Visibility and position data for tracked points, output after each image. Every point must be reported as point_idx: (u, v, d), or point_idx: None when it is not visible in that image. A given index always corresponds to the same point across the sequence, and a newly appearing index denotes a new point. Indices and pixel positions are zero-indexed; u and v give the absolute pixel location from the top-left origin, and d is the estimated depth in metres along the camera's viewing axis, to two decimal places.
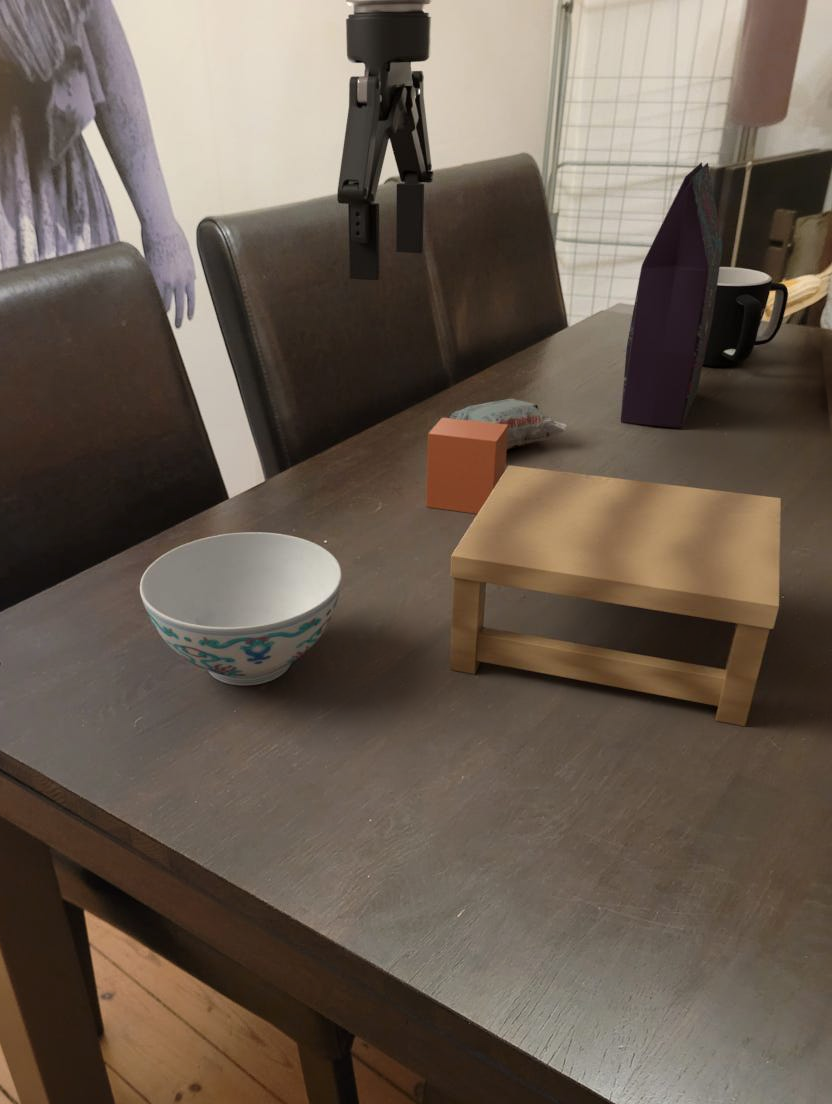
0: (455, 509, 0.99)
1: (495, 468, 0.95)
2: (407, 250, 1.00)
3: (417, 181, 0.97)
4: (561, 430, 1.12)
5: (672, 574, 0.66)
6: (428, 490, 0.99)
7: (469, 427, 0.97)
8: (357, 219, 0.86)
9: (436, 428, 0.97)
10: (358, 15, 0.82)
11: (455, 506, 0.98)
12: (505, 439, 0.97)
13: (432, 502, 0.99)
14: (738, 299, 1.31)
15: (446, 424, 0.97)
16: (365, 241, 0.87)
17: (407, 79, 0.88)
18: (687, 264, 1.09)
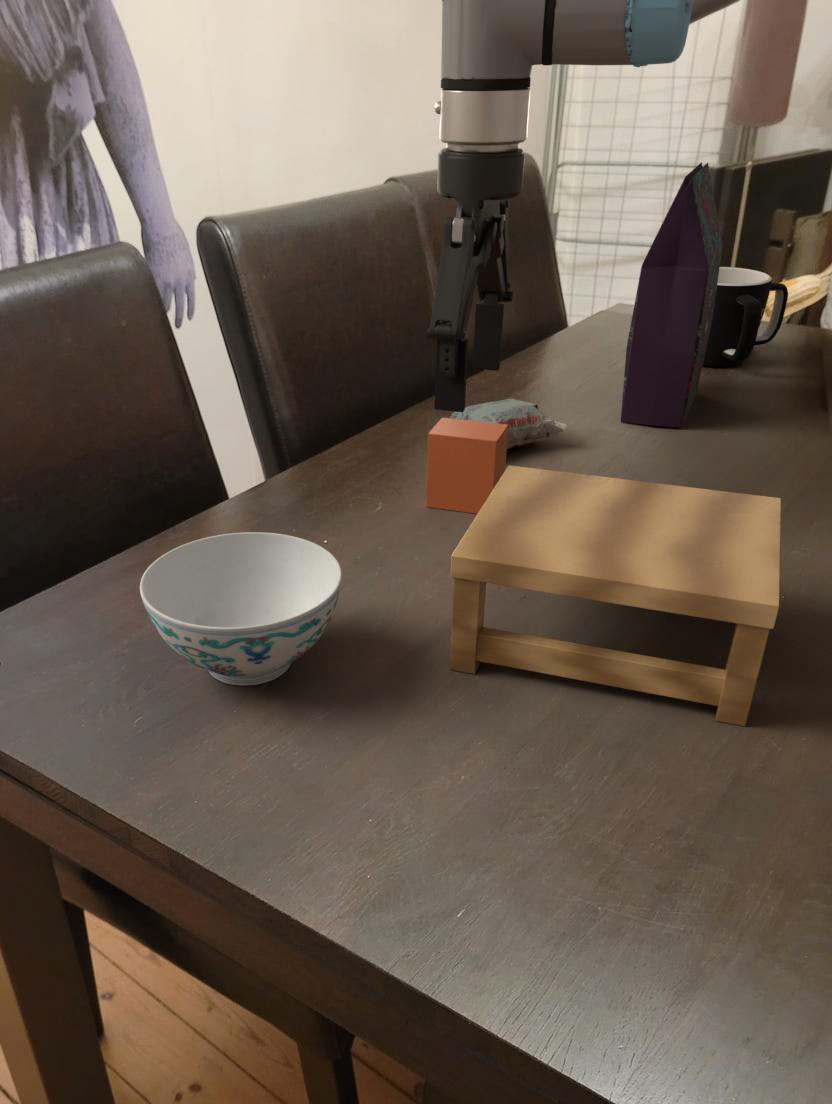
0: (455, 509, 0.99)
1: (495, 468, 0.95)
2: (484, 367, 0.99)
3: (497, 301, 0.96)
4: (561, 430, 1.12)
5: (672, 574, 0.66)
6: (428, 490, 0.99)
7: (469, 427, 0.97)
8: (446, 355, 0.85)
9: (436, 428, 0.97)
10: (453, 154, 0.81)
11: (455, 506, 0.98)
12: (505, 439, 0.97)
13: (432, 502, 0.99)
14: (738, 299, 1.31)
15: (446, 424, 0.97)
16: (453, 376, 0.86)
17: (496, 209, 0.87)
18: (687, 264, 1.09)
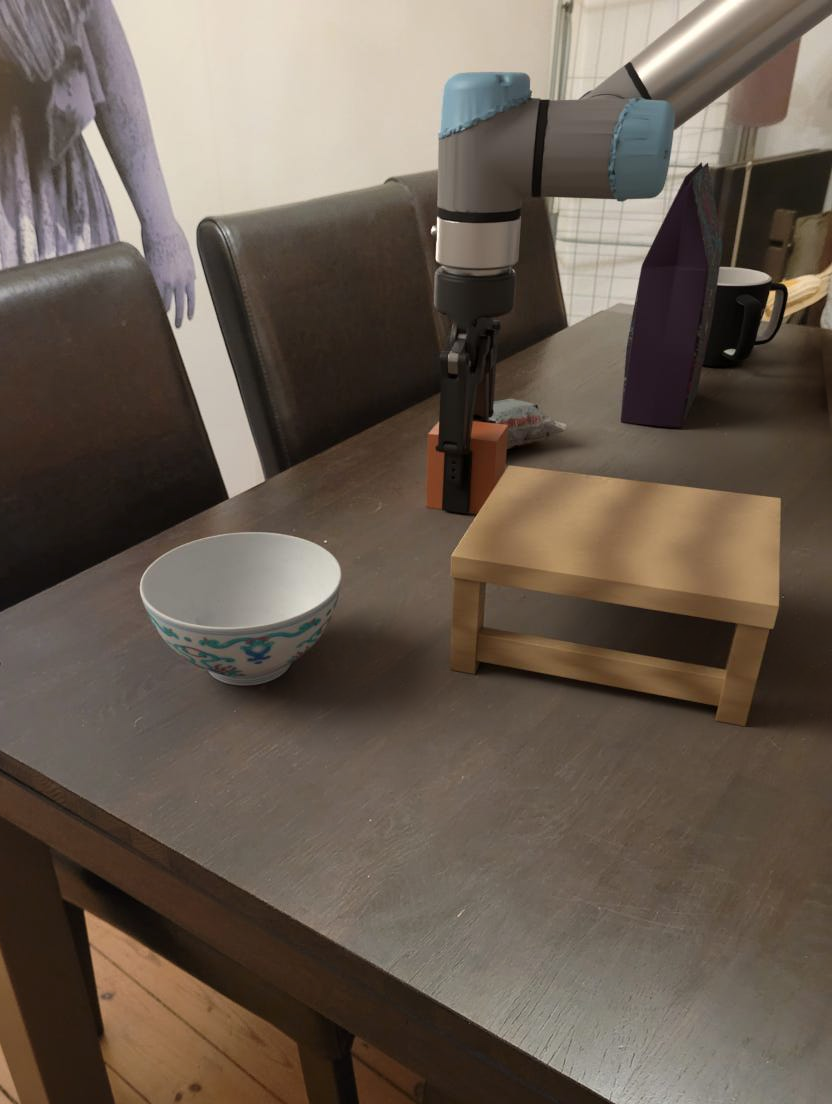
0: None
1: (495, 468, 0.95)
2: None
3: None
4: (561, 430, 1.12)
5: (672, 574, 0.66)
6: (428, 490, 0.99)
7: None
8: (453, 466, 0.94)
9: (436, 428, 0.97)
10: (448, 276, 0.86)
11: None
12: (505, 439, 0.97)
13: (432, 502, 0.99)
14: (738, 299, 1.31)
15: None
16: (459, 484, 0.95)
17: (489, 320, 0.92)
18: (687, 264, 1.09)
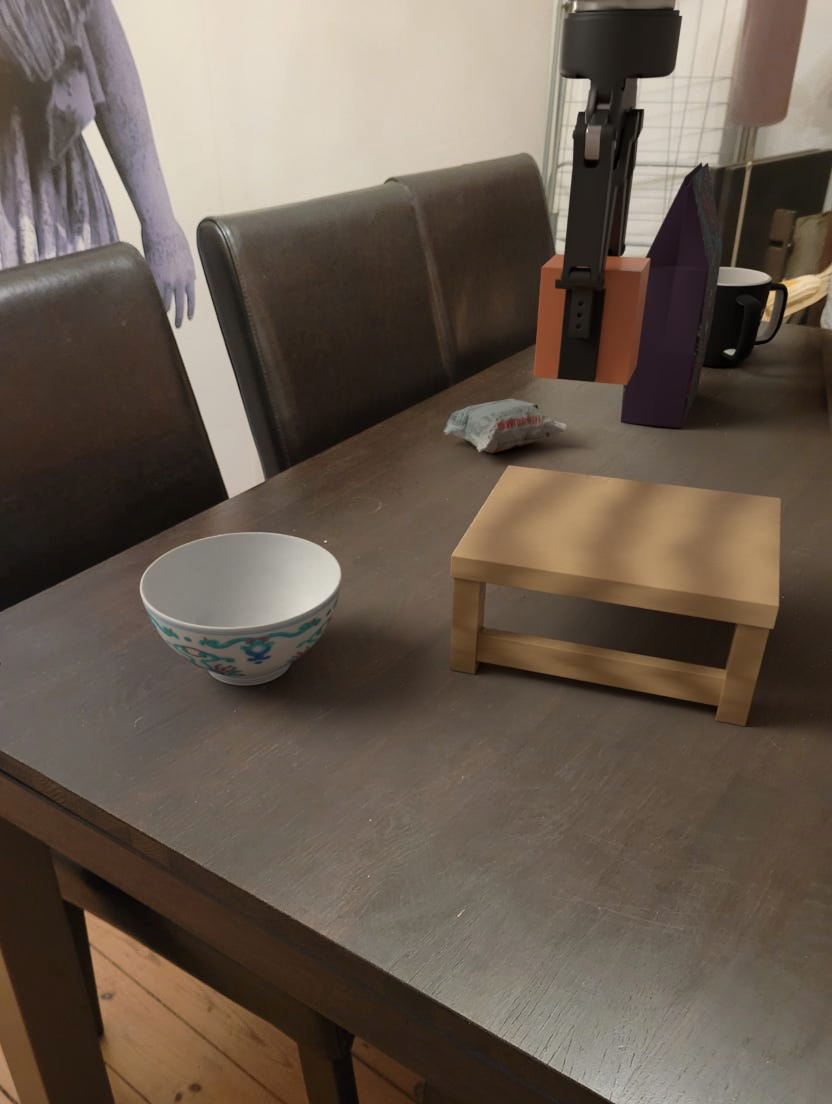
0: None
1: (636, 314, 0.68)
2: None
3: None
4: (561, 430, 1.12)
5: (672, 574, 0.66)
6: (538, 352, 0.72)
7: None
8: (579, 309, 0.67)
9: (551, 262, 0.70)
10: (587, 14, 0.60)
11: None
12: (646, 278, 0.70)
13: (542, 369, 0.72)
14: (738, 299, 1.31)
15: (563, 259, 0.71)
16: (587, 336, 0.68)
17: (634, 99, 0.66)
18: (687, 264, 1.09)
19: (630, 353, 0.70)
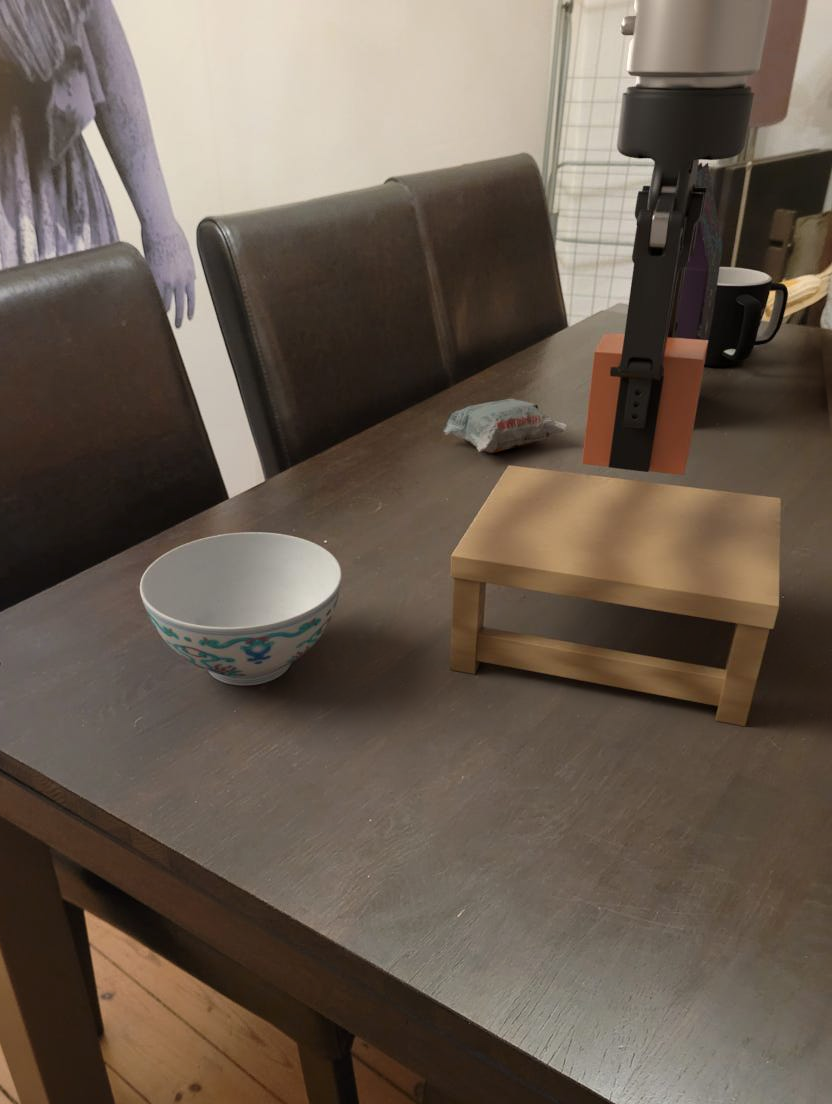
0: None
1: (696, 402, 0.64)
2: None
3: None
4: (561, 430, 1.12)
5: (672, 574, 0.66)
6: (587, 439, 0.67)
7: None
8: (636, 399, 0.63)
9: (603, 345, 0.65)
10: (653, 92, 0.55)
11: None
12: (704, 362, 0.66)
13: (592, 457, 0.68)
14: (738, 299, 1.31)
15: (615, 341, 0.66)
16: (643, 426, 0.64)
17: (695, 176, 0.61)
18: None
19: (688, 443, 0.65)
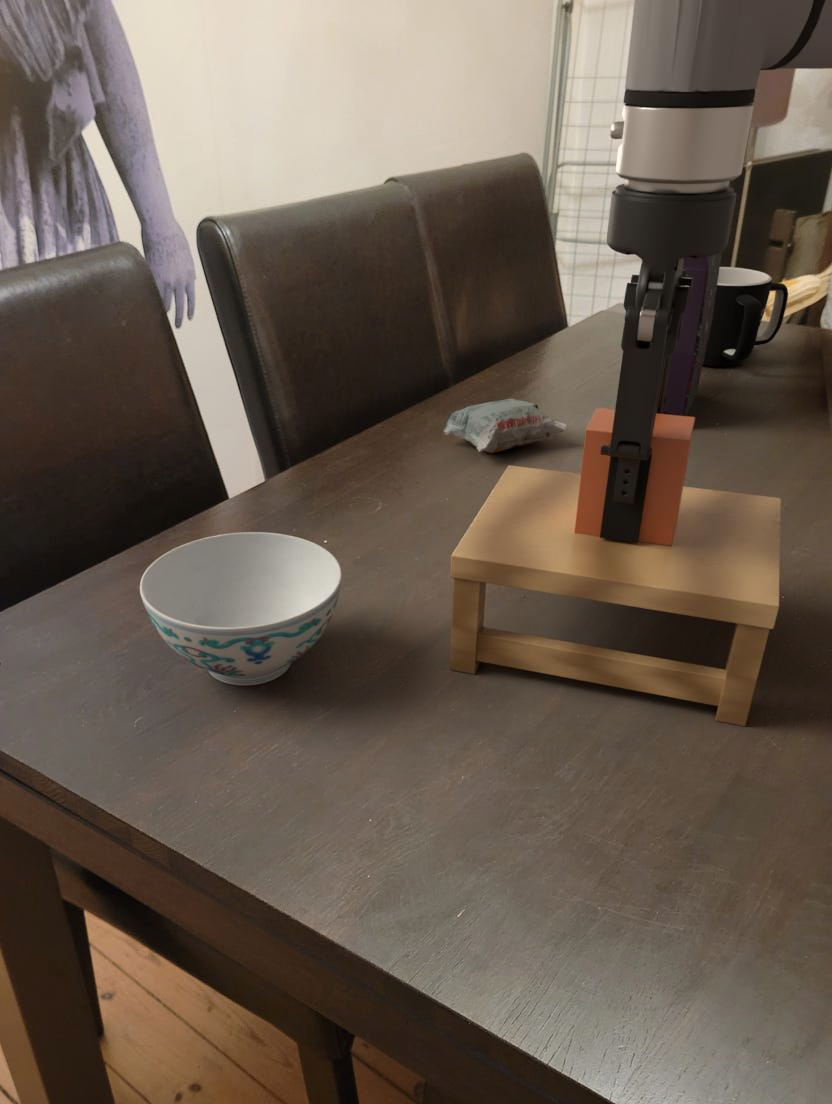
0: None
1: (683, 479, 0.67)
2: None
3: None
4: (561, 430, 1.12)
5: (672, 574, 0.66)
6: (579, 509, 0.70)
7: None
8: (625, 476, 0.66)
9: (595, 422, 0.68)
10: (640, 195, 0.58)
11: None
12: (691, 438, 0.69)
13: (584, 526, 0.71)
14: (738, 299, 1.31)
15: (606, 417, 0.69)
16: (632, 502, 0.67)
17: (682, 266, 0.64)
18: (687, 264, 1.09)
19: (675, 516, 0.68)
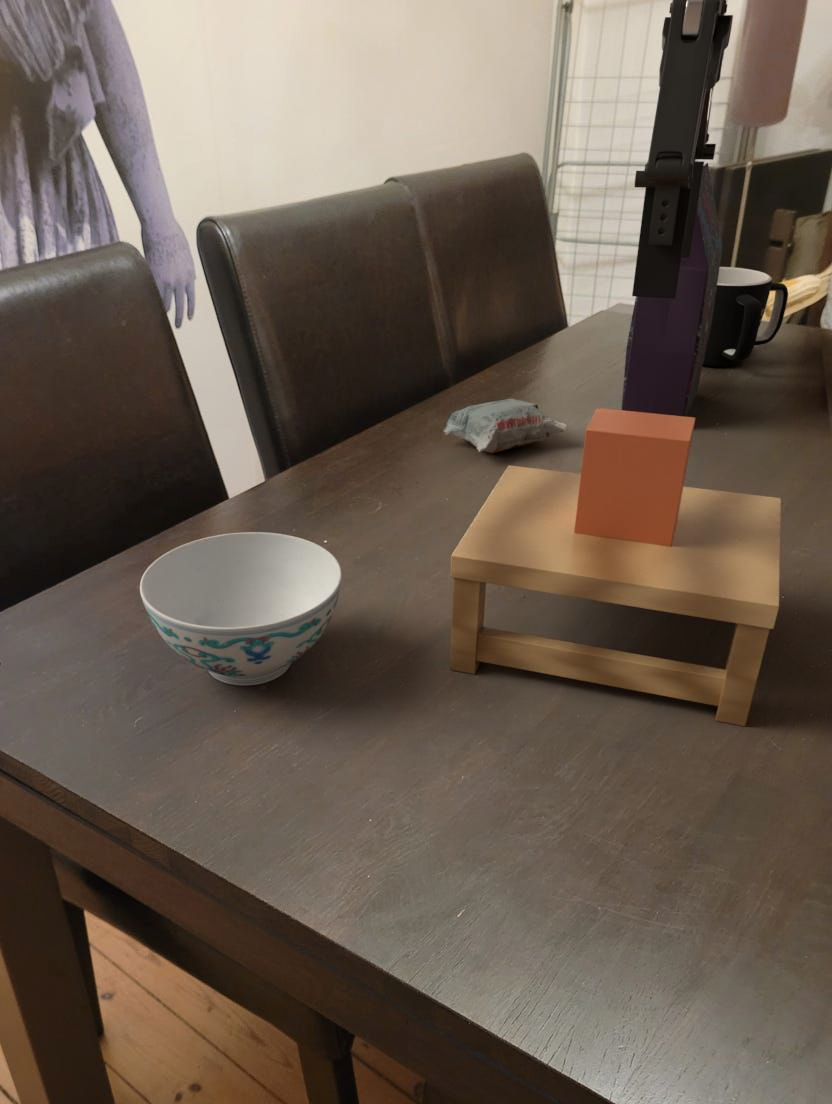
0: (617, 536, 0.70)
1: (682, 479, 0.67)
2: None
3: (694, 158, 0.70)
4: (561, 430, 1.12)
5: (672, 574, 0.66)
6: (579, 510, 0.70)
7: (641, 421, 0.68)
8: (663, 210, 0.59)
9: (595, 422, 0.68)
10: None
11: (617, 532, 0.70)
12: (691, 438, 0.69)
13: (583, 526, 0.71)
14: (738, 299, 1.31)
15: (606, 417, 0.69)
16: (670, 242, 0.59)
17: (720, 6, 0.61)
18: (687, 264, 1.09)
19: (675, 517, 0.68)
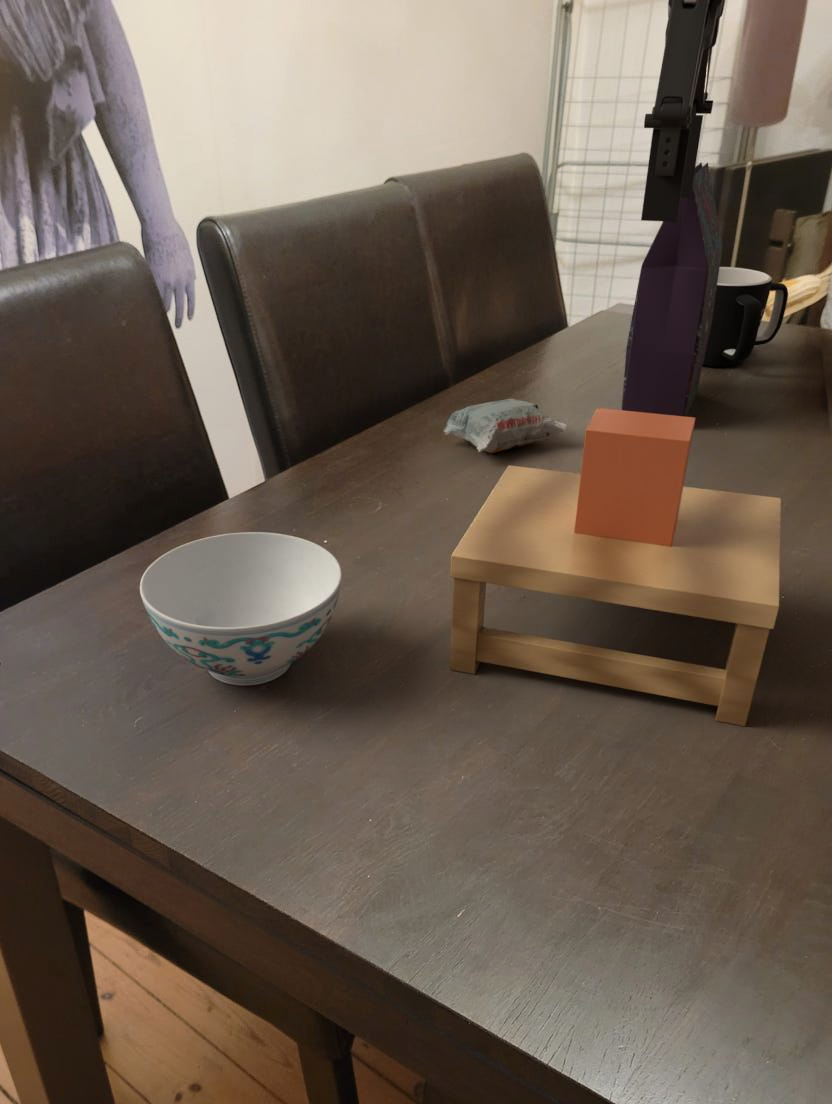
0: (617, 536, 0.70)
1: (682, 479, 0.67)
2: None
3: (695, 112, 0.84)
4: (561, 430, 1.12)
5: (672, 574, 0.66)
6: (579, 510, 0.70)
7: (641, 421, 0.68)
8: (667, 146, 0.72)
9: (595, 422, 0.68)
10: None
11: (617, 532, 0.70)
12: (691, 438, 0.69)
13: (583, 526, 0.71)
14: (738, 299, 1.31)
15: (606, 417, 0.69)
16: (672, 173, 0.73)
17: None
18: (687, 264, 1.09)
19: (675, 517, 0.68)
